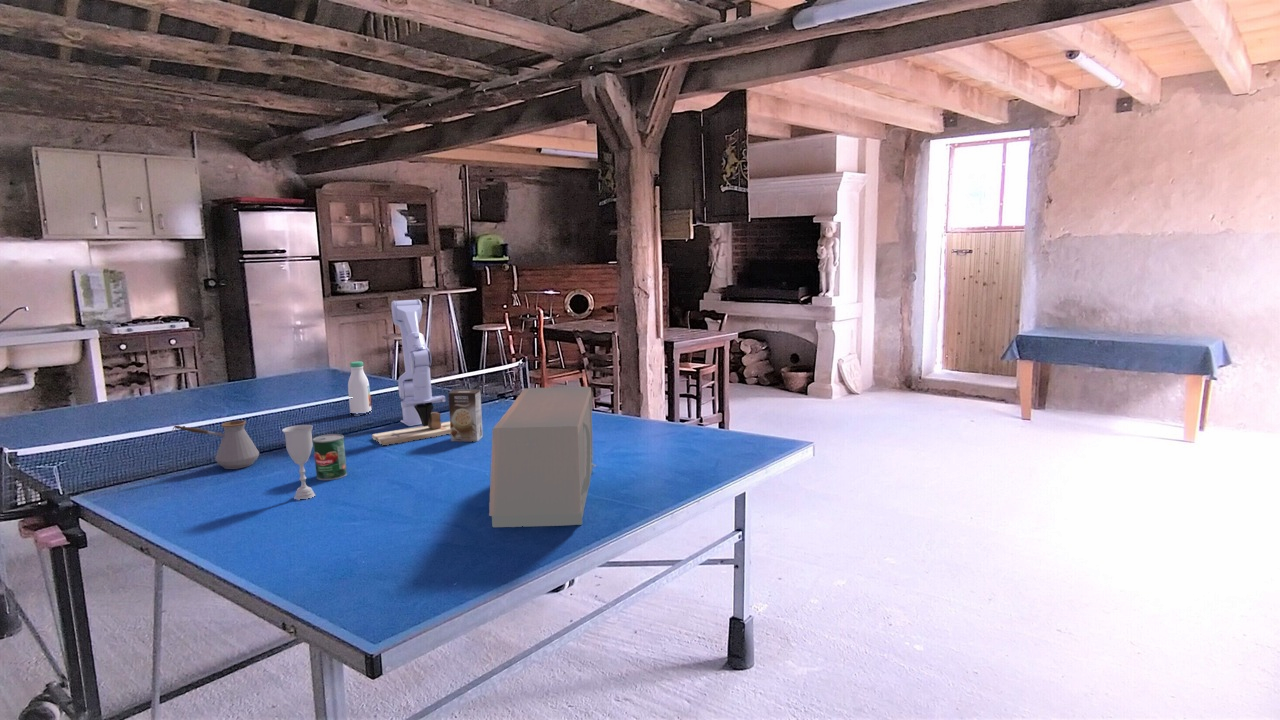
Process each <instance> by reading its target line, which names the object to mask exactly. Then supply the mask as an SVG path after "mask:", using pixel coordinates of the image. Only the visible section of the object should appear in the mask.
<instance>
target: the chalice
mask: <svg viewBox="0 0 1280 720" xmlns="http://www.w3.org/2000/svg"><path fill="white" fill-rule="evenodd" d="M313 428H314V426H313V425H312V424H298V425H291V426H287V427H284V428H283V429H281V430H282V432H283V434H284V439H285V447H286V448H285V449H286V451H287V453H288V455H289V457H290V458H291V459H292V461H293V462H294V463H295V465H296V464H297V465H298V466H299V471H298V473H299V475H300V477H299V478H298V480H299V481H300V483H301V485H300V486H299V487H298V488H297V489H296V492H295V493H294V497H293V499H294V500H295V499H298V500H297V501H301V500H300V499H306V500H309V499H308V498H310V499H312V497H313V498H315V497H316V493H315V492H314V490H313V488H312V487H310V486H308V485H307V484H306V479H307V477H306V475H305V473H306V469H305V464H306V463H307V462H308V461H309V459H310V456H311V454H312V450H313V447H314V446H313V435H312V430H313ZM314 496H315V497H314Z"/></svg>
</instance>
